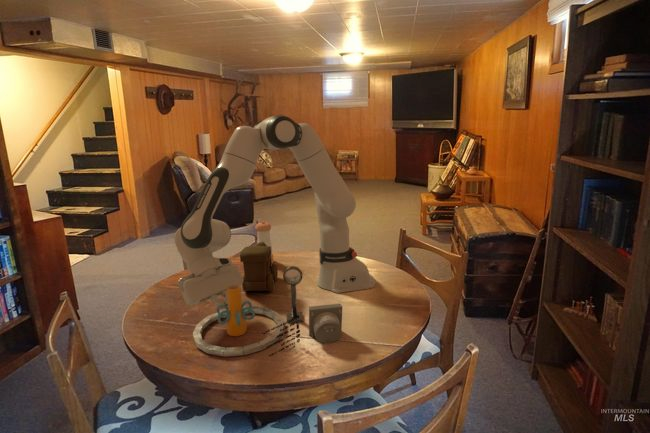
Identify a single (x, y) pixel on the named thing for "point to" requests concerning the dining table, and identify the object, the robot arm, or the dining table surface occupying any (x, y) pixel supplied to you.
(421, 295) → the dining table surface
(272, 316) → the ring
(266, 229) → the salt shaker
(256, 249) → the brown backpack
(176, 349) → the dining table surface
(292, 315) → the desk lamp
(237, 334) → the orange vase with loops
